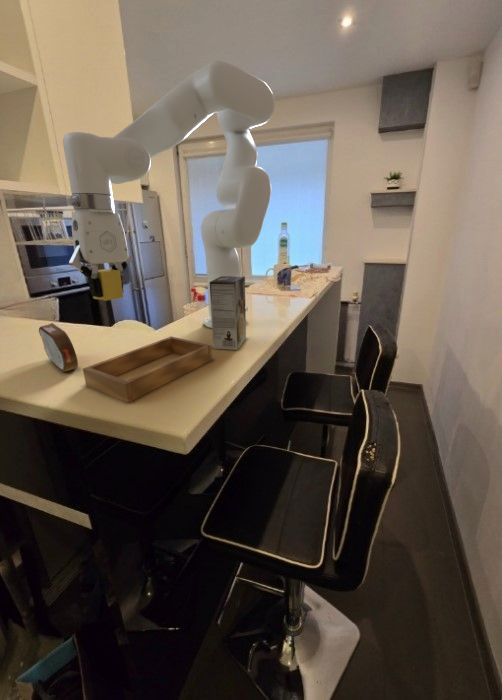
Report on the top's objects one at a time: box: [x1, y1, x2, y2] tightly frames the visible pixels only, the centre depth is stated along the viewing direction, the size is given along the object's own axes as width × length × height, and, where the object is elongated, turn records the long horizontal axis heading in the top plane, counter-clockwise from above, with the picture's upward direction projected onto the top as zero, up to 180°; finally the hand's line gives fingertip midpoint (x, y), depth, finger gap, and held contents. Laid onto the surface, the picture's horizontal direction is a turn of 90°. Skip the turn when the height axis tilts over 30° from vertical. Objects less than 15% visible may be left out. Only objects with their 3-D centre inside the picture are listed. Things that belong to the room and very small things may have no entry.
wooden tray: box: [82, 335, 213, 404], centre depth 65 cm, size 22×12×4 cm, turn 147°
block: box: [92, 268, 124, 302], centre depth 72 cm, size 4×4×6 cm
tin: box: [38, 322, 79, 373], centre depth 68 cm, size 15×3×8 cm, turn 44°
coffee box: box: [210, 276, 247, 351], centre depth 79 cm, size 9×6×16 cm
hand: (107, 293), depth 73 cm, fingers closed on block, 4 cm apart
